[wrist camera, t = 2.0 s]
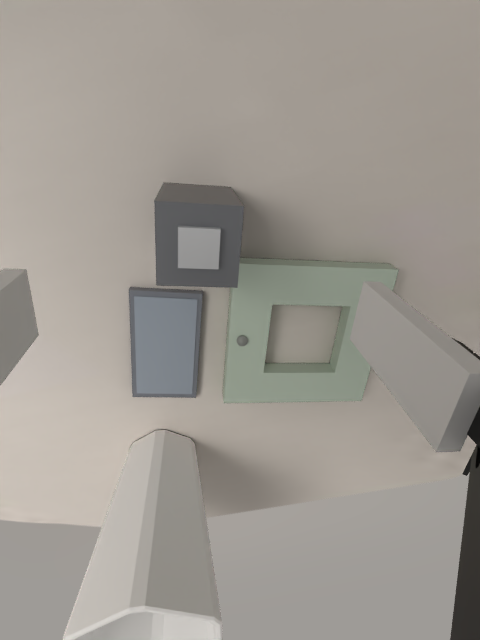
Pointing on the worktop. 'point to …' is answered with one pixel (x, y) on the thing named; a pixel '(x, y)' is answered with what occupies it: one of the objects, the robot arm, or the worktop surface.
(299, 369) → the outlet plate
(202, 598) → the cup
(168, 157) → the worktop surface
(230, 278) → the block
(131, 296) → the phone
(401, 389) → the robot arm
